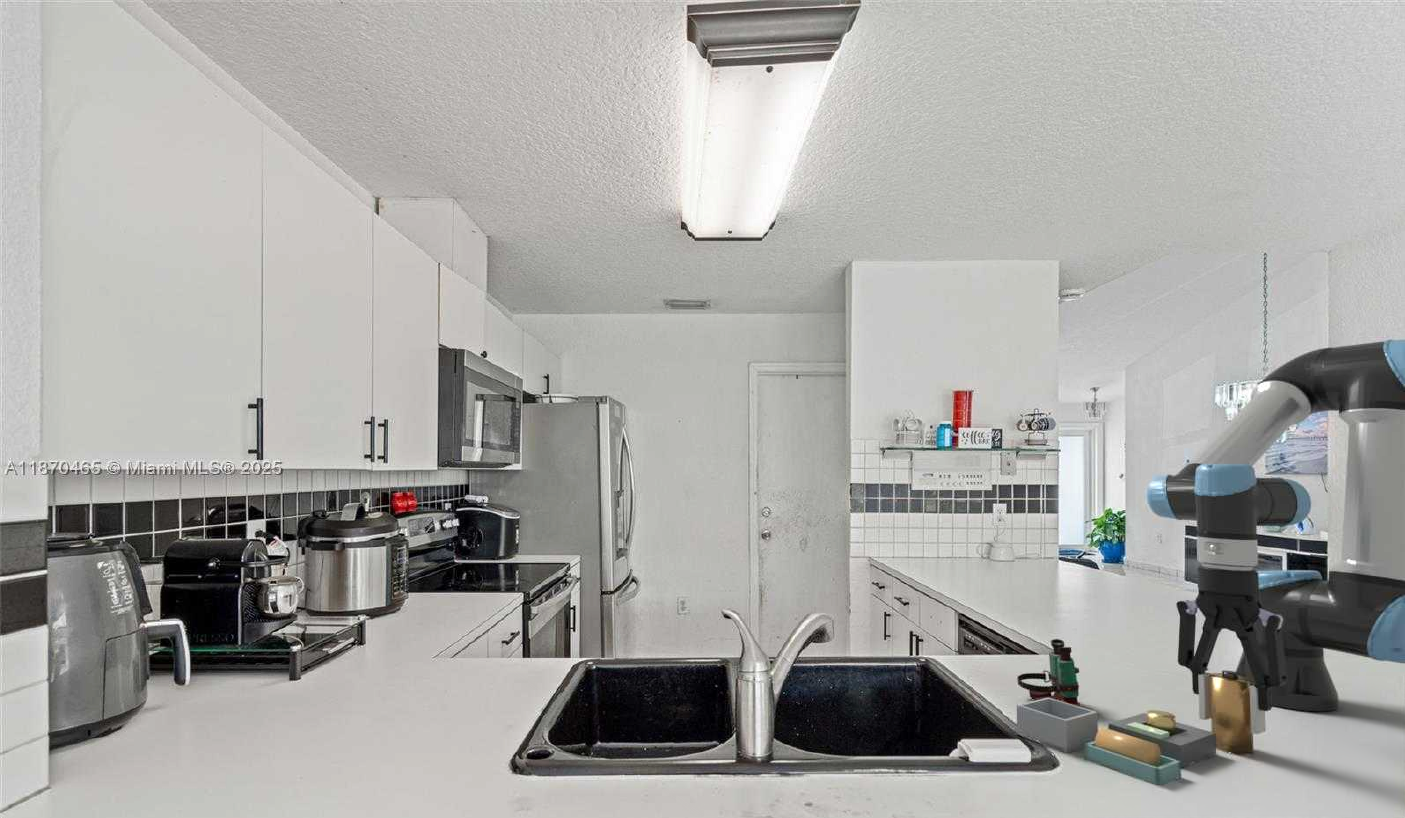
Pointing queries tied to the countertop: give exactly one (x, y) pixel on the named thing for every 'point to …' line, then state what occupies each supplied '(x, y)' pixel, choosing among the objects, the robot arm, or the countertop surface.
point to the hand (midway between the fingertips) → (1231, 724)
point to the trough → (1132, 757)
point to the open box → (1057, 724)
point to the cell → (1231, 712)
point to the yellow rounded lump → (1162, 721)
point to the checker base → (1170, 739)
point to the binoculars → (1056, 677)
